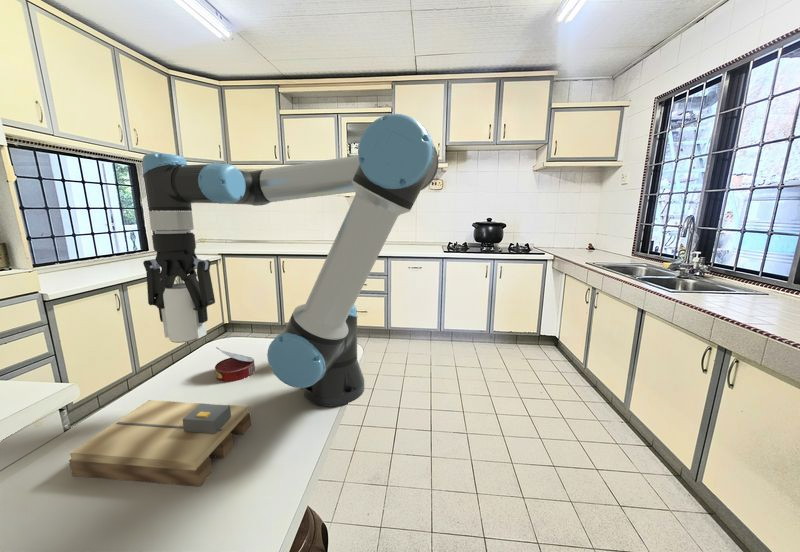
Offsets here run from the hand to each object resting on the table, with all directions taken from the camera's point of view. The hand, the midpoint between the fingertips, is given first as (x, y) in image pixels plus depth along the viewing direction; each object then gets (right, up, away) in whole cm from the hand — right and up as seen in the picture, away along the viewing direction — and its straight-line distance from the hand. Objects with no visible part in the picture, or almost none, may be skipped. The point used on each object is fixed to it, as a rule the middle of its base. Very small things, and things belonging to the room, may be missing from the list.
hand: (186, 335), depth 74 cm
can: (0, -1, 0) cm, 1 cm away
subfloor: (+4, -19, -11) cm, 23 cm away
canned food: (+2, -14, +19) cm, 24 cm away
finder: (+11, -15, -11) cm, 22 cm away
